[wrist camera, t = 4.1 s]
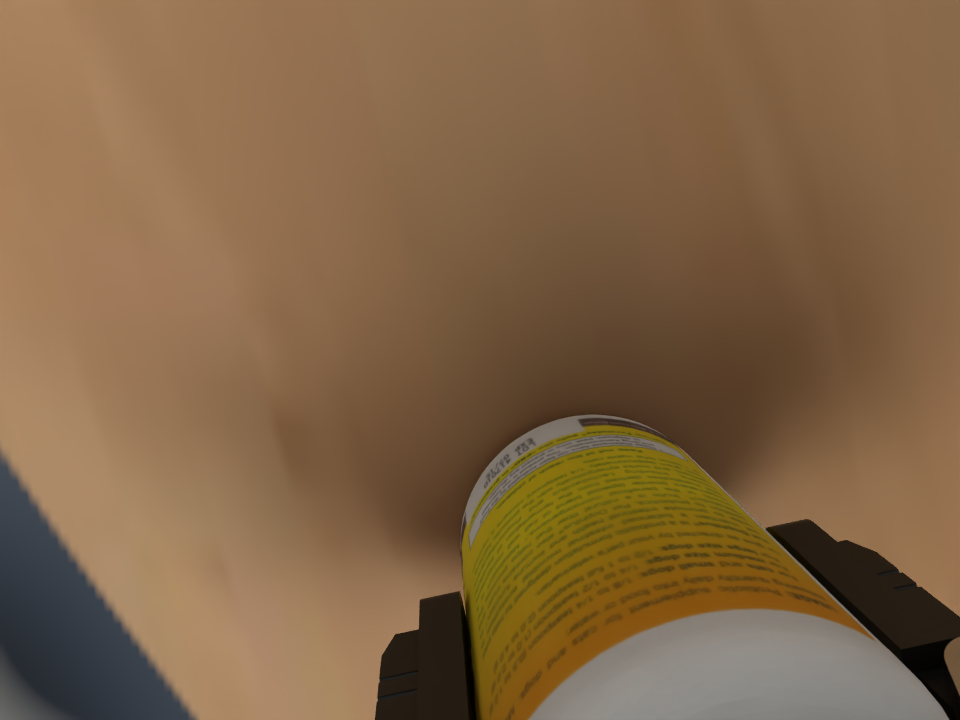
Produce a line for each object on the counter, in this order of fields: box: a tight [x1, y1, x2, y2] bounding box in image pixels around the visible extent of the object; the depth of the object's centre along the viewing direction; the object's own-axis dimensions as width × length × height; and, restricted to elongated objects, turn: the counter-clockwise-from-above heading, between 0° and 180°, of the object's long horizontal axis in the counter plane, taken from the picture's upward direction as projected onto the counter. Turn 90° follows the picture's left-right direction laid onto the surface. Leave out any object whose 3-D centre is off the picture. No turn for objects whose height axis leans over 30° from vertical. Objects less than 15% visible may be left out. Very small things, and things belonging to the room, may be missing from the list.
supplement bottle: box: [460, 415, 949, 720], centre depth 10 cm, size 6×6×10 cm
